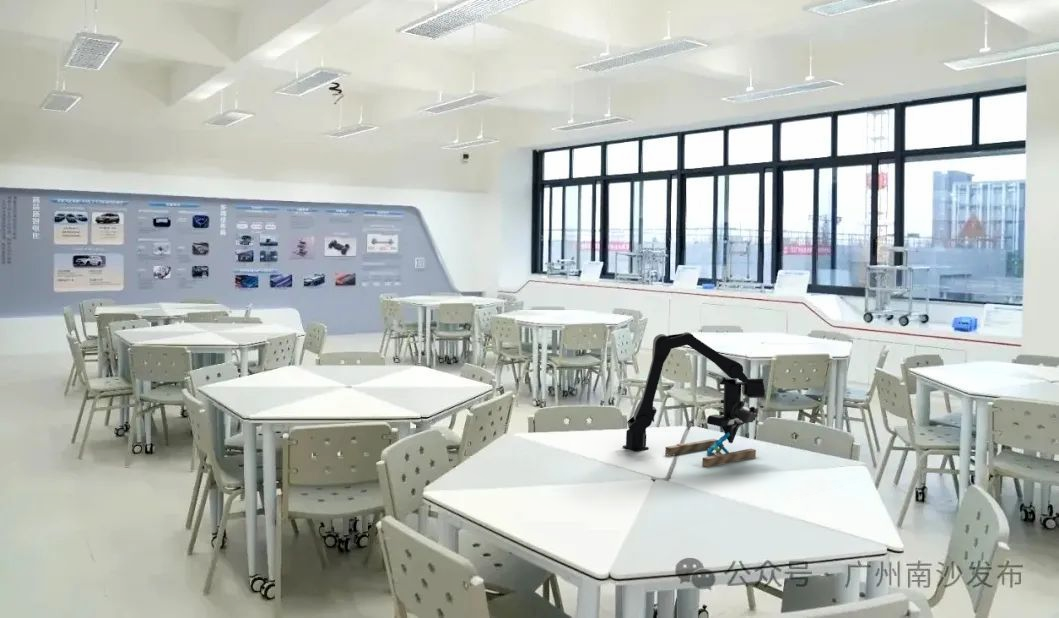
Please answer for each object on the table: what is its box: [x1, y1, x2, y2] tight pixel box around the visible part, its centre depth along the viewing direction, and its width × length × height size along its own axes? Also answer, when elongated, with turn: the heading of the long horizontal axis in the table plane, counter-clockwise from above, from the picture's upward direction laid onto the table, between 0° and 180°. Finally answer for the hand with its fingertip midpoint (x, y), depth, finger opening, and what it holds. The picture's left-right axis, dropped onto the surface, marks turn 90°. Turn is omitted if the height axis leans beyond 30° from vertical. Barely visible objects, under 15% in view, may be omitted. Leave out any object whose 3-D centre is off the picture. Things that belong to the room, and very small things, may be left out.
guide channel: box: [665, 438, 757, 468], centre depth 266 cm, size 24×18×3 cm
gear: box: [706, 432, 730, 455], centre depth 267 cm, size 11×6×10 cm
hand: (730, 442), depth 272 cm, fingers closed
